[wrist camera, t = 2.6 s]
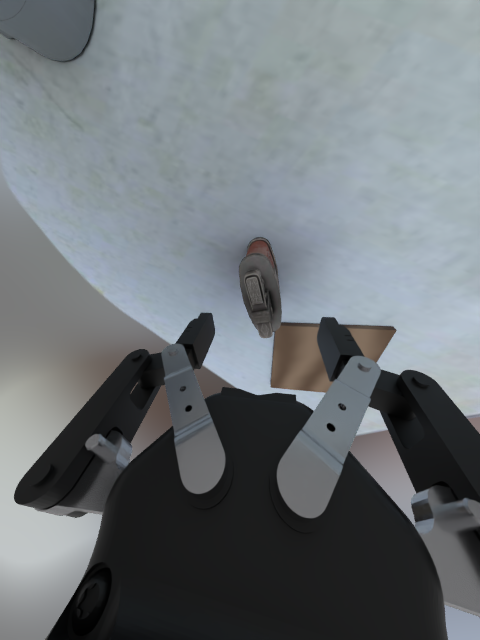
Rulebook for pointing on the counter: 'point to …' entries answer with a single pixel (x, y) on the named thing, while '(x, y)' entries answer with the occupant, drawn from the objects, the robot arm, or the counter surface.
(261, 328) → the lighter
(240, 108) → the counter surface
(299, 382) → the board
